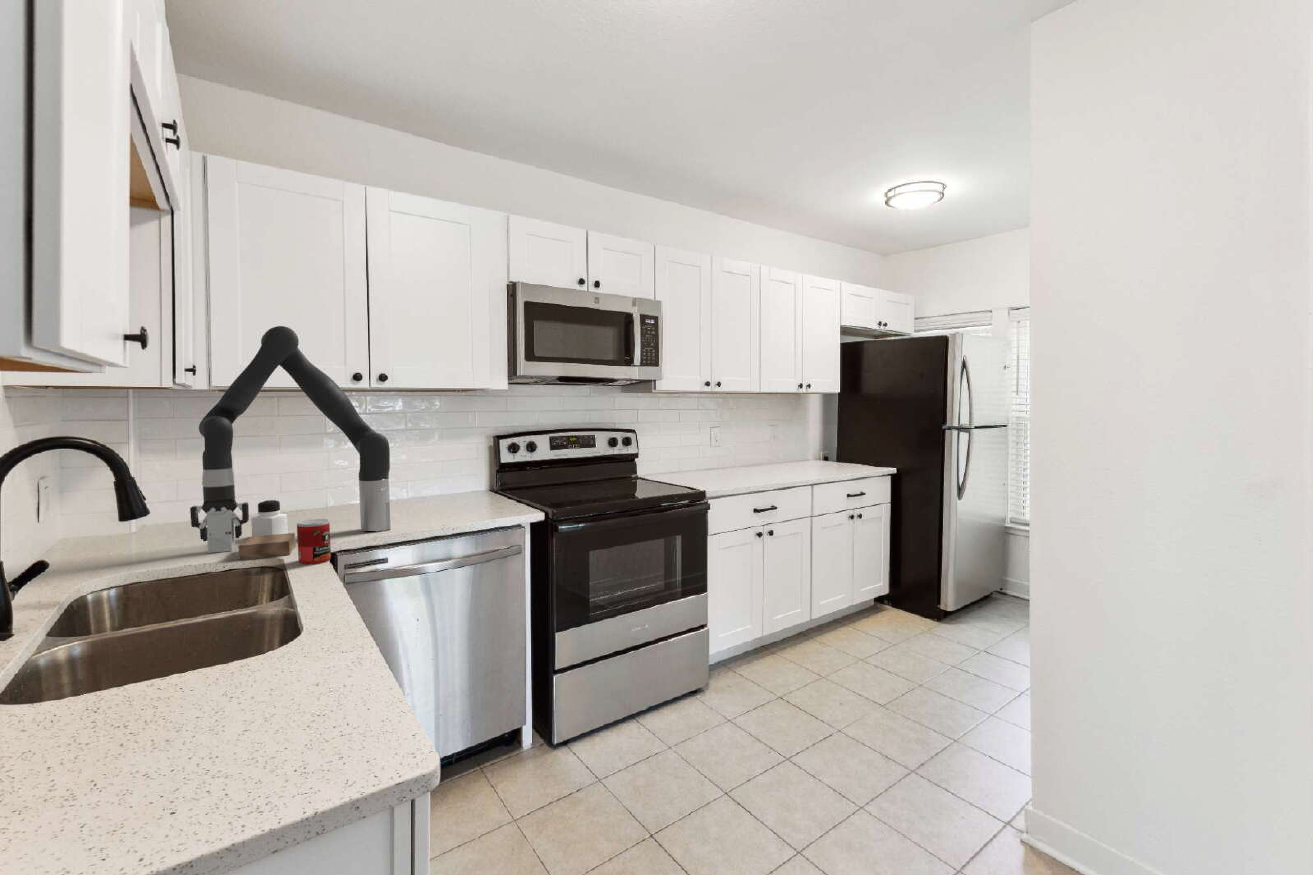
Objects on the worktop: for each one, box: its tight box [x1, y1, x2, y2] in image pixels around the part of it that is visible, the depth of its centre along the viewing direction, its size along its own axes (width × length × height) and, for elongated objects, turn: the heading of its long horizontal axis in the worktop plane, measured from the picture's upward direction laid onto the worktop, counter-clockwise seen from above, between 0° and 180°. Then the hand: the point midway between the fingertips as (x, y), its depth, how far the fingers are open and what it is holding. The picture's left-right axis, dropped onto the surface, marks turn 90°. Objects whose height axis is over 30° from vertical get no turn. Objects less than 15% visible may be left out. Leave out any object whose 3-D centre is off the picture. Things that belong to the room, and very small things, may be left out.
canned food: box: [296, 518, 332, 566], centre depth 164 cm, size 8×8×11 cm
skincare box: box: [206, 510, 236, 554], centre depth 177 cm, size 6×4×12 cm
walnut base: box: [238, 532, 296, 561], centre depth 174 cm, size 12×12×4 cm
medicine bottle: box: [250, 499, 289, 537], centre depth 194 cm, size 7×7×12 cm
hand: (221, 539), depth 177 cm, fingers open, 7 cm apart
